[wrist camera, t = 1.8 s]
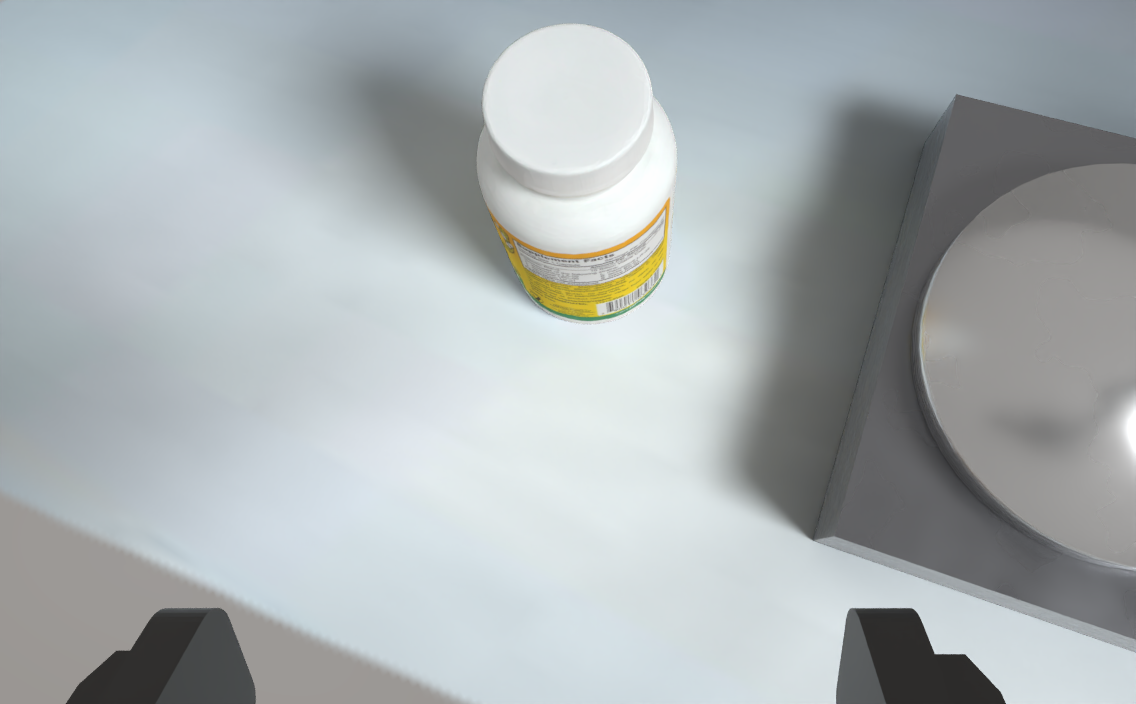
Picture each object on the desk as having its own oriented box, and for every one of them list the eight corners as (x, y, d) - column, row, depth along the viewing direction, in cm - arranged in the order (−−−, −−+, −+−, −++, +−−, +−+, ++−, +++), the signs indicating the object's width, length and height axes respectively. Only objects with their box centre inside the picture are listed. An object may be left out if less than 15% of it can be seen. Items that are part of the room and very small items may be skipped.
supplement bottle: (649, 344, 27) (651, 227, 18) (494, 308, 28) (421, 178, 19) (686, 197, 29) (705, 17, 19) (537, 167, 29) (488, -19, 20)
